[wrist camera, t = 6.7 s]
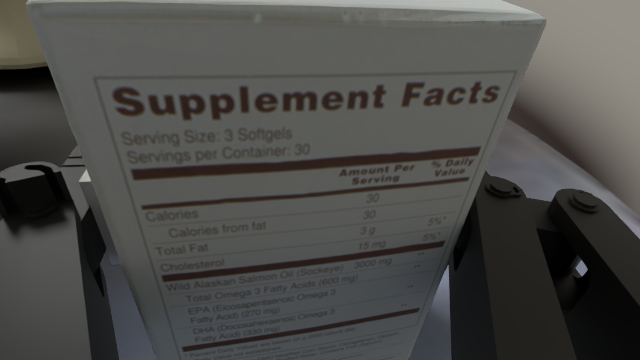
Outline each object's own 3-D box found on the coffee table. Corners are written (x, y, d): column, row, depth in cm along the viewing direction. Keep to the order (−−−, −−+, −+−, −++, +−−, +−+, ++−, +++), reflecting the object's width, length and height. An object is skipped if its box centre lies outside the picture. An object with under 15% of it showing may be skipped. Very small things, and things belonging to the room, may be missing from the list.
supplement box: (190, 262, 17) (123, -66, 10) (346, 244, 19) (390, -51, 11) (178, 446, 11) (-10, -13, 4) (403, 397, 13) (571, 2, 6)
